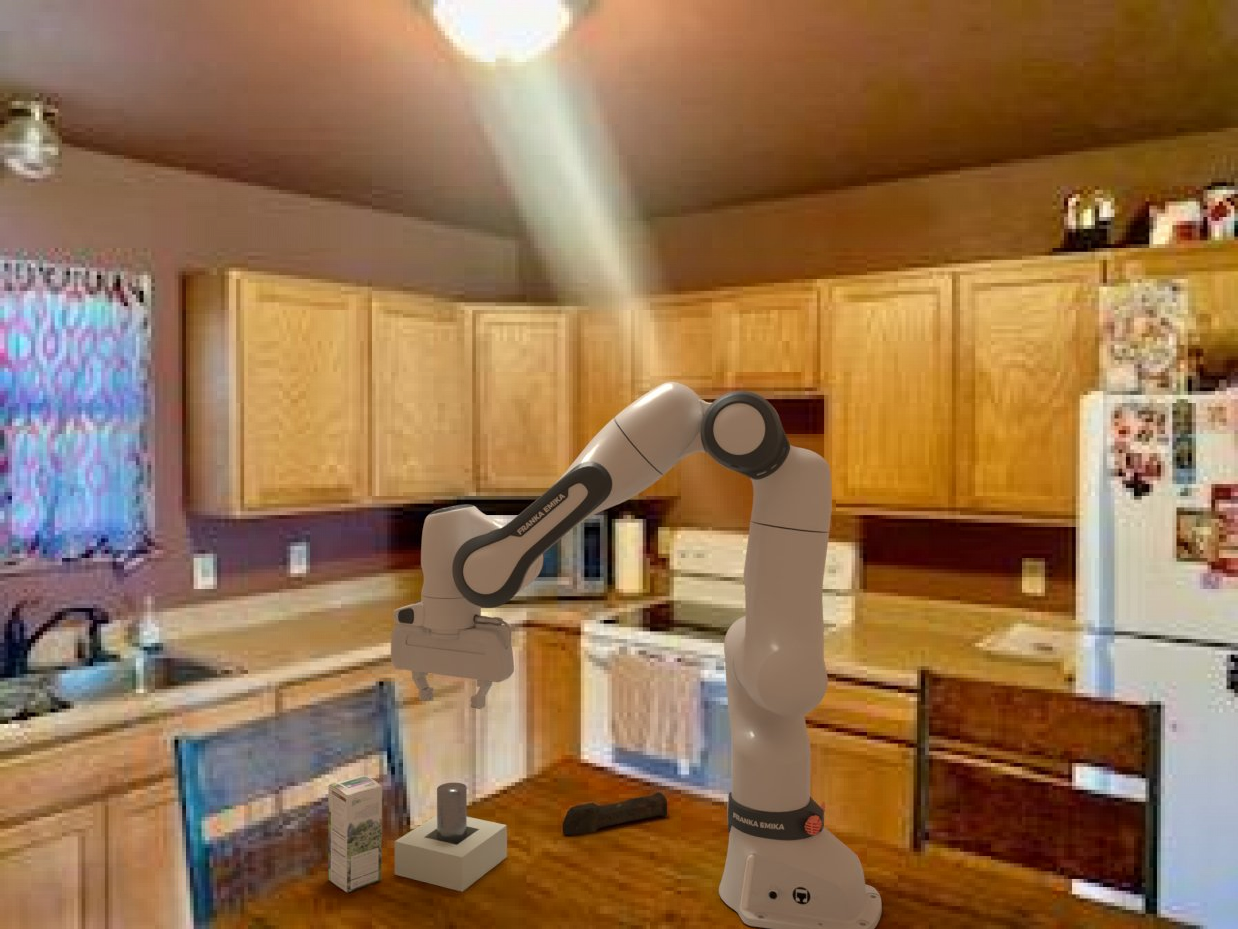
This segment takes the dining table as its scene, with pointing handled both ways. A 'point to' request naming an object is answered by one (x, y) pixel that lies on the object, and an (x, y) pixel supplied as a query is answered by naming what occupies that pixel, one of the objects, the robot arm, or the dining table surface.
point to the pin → (452, 813)
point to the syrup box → (354, 833)
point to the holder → (451, 854)
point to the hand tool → (612, 813)
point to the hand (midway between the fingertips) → (451, 703)
